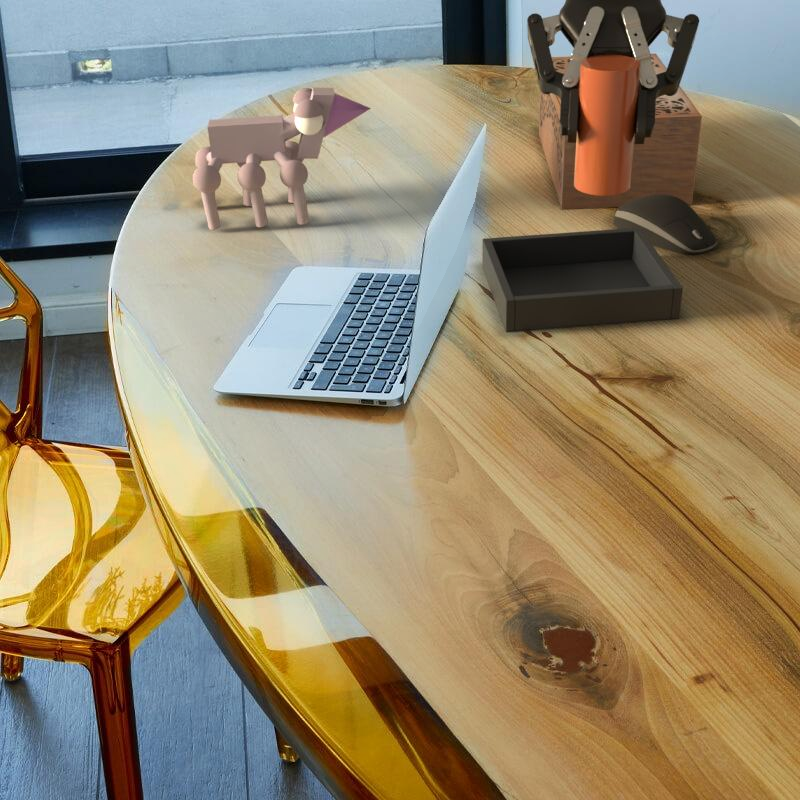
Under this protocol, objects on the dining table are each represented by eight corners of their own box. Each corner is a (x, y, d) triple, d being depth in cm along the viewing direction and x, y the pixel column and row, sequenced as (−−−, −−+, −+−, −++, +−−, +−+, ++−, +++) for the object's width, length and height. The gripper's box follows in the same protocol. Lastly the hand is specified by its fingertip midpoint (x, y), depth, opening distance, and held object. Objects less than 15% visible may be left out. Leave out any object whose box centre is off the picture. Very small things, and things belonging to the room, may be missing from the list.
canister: (622, 173, 91) (631, 53, 85) (637, 193, 87) (648, 69, 82) (568, 177, 91) (574, 56, 85) (581, 197, 87) (588, 72, 81)
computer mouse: (680, 267, 106) (684, 230, 104) (598, 228, 115) (600, 192, 113) (731, 250, 109) (736, 212, 107) (647, 213, 118) (650, 178, 116)
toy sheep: (373, 190, 127) (367, 74, 120) (379, 225, 118) (373, 102, 111) (202, 202, 126) (186, 85, 119) (196, 238, 117) (177, 114, 110)
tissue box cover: (691, 204, 120) (701, 116, 114) (561, 209, 120) (565, 120, 115) (649, 131, 141) (655, 53, 136) (538, 134, 142) (541, 57, 137)
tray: (637, 262, 108) (640, 227, 106) (678, 326, 96) (683, 287, 94) (482, 273, 107) (482, 238, 105) (505, 339, 95) (506, 300, 93)
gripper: (526, -82, 86) (513, 115, 82) (711, -85, 84) (706, 118, 80) (528, -26, 93) (516, 158, 89) (698, -27, 91) (693, 162, 87)
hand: (606, 138), depth 85 cm, fingers closed on canister, 4 cm apart
